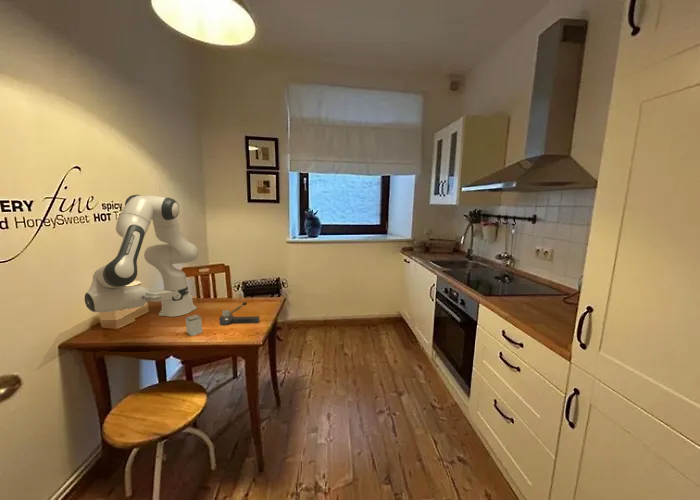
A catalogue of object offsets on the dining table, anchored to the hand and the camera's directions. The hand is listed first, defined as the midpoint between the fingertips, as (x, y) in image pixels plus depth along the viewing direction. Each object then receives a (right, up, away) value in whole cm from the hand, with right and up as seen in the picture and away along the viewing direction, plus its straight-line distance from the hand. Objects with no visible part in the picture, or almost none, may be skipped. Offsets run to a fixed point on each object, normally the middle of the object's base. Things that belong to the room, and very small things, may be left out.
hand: (171, 292), depth 137 cm
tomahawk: (+15, -16, +41) cm, 46 cm away
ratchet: (+22, -19, +23) cm, 37 cm away
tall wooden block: (+4, -21, +12) cm, 25 cm away
